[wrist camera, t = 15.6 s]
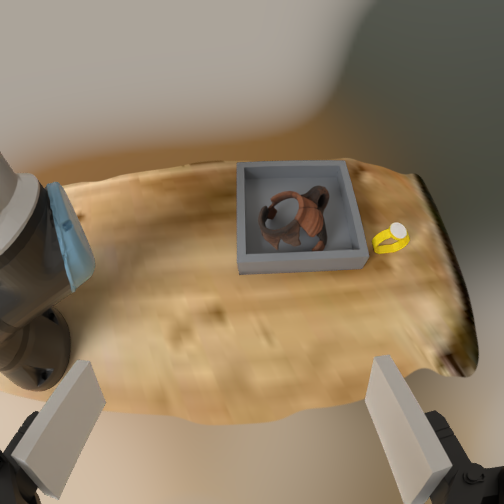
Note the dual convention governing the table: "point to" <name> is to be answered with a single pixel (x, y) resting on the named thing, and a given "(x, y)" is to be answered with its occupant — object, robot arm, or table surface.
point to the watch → (395, 232)
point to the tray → (301, 181)
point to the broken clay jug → (298, 218)
